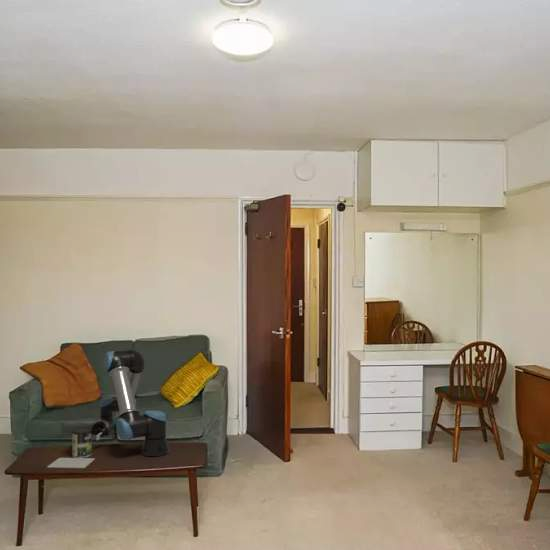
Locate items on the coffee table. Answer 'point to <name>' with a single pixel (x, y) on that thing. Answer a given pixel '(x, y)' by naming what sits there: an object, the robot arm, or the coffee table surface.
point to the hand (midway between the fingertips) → (85, 437)
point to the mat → (71, 463)
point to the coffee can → (81, 442)
